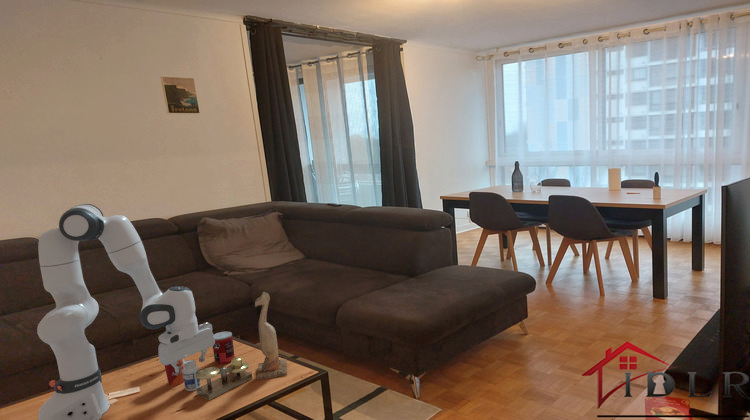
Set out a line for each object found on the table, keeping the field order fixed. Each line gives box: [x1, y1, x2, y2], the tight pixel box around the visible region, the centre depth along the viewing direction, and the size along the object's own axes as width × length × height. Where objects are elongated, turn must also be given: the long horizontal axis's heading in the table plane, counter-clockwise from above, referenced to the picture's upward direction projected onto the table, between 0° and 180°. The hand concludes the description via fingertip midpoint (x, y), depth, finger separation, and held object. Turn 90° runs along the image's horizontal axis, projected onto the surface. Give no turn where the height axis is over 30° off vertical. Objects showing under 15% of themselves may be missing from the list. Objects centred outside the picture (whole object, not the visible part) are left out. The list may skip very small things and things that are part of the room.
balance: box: [195, 356, 253, 401], centre depth 176 cm, size 20×8×8 cm, turn 140°
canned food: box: [212, 331, 236, 365], centre depth 199 cm, size 8×8×11 cm
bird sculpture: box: [254, 291, 288, 381], centre depth 184 cm, size 11×12×32 cm
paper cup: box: [164, 358, 185, 387], centre depth 183 cm, size 8×8×14 cm
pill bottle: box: [183, 359, 202, 392], centre depth 177 cm, size 5×5×10 cm
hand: (190, 366), depth 177 cm, fingers open, 8 cm apart
